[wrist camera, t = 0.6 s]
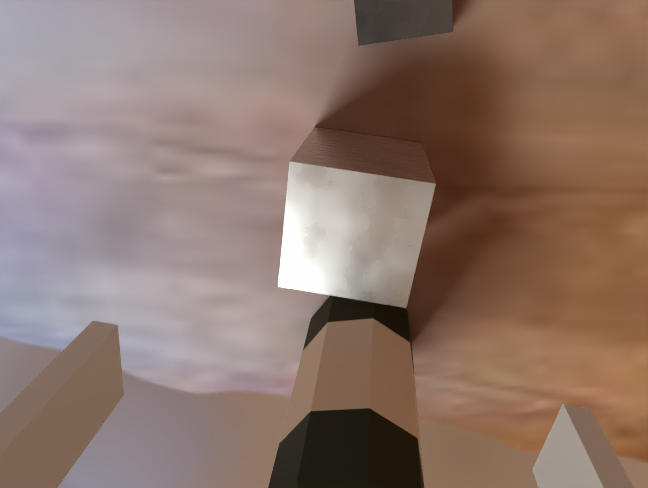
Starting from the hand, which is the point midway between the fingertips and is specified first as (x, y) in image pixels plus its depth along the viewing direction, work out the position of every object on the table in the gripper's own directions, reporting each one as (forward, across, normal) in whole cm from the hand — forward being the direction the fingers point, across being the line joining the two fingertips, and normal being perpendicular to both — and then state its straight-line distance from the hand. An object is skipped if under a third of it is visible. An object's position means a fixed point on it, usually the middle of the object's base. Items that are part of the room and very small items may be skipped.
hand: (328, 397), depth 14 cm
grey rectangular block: (+20, 0, 0) cm, 20 cm away
